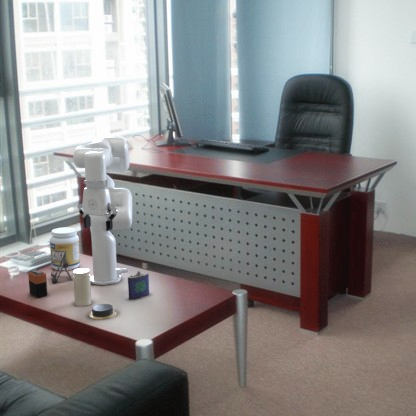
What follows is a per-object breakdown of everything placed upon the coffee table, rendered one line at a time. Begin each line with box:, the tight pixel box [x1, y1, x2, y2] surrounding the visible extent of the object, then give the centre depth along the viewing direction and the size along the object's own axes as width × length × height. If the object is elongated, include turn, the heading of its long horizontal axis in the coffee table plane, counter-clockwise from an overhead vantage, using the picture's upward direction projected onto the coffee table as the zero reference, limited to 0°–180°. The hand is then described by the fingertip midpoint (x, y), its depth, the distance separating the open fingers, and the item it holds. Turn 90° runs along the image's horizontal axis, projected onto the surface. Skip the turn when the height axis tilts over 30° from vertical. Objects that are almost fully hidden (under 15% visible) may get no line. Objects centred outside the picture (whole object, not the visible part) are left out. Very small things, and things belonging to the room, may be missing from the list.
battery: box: [27, 268, 48, 299], centre depth 263 cm, size 4×7×10 cm, turn 47°
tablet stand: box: [50, 257, 73, 284], centre depth 281 cm, size 9×8×8 cm
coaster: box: [87, 308, 118, 321], centre depth 246 cm, size 10×10×1 cm
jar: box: [72, 268, 92, 307], centre depth 255 cm, size 6×6×13 cm
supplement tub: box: [49, 226, 81, 271], centre depth 296 cm, size 12×12×17 cm
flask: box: [127, 270, 150, 301], centre depth 263 cm, size 9×3×11 cm, turn 138°
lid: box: [91, 303, 114, 317], centre depth 246 cm, size 7×7×2 cm
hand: (98, 228), depth 256 cm, fingers open, 9 cm apart
